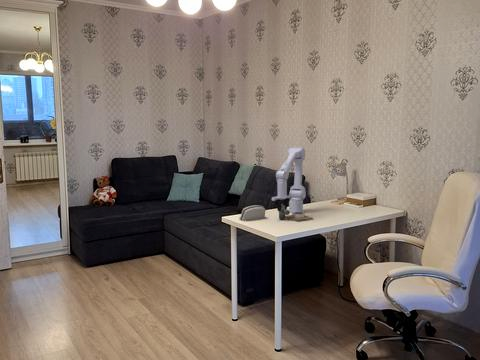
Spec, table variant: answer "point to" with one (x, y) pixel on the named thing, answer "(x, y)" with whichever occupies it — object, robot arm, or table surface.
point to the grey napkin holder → (253, 213)
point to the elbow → (283, 212)
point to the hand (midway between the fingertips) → (282, 210)
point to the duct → (298, 217)
